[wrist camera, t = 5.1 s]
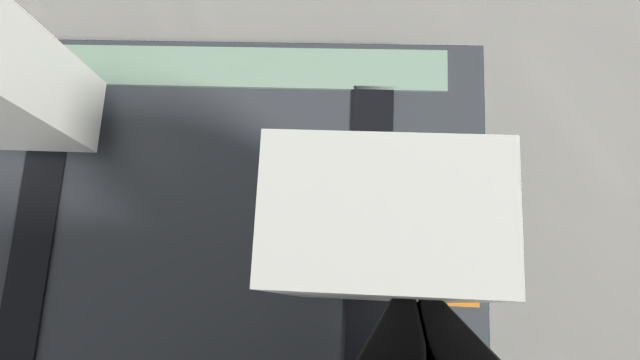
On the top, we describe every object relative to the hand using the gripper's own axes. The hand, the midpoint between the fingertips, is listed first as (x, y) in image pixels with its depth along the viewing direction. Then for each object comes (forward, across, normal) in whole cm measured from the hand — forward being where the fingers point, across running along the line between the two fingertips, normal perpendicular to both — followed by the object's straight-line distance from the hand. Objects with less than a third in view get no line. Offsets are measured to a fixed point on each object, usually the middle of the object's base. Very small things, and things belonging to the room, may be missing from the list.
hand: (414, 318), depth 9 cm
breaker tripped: (+4, -1, -2) cm, 5 cm away
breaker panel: (+6, -5, -5) cm, 9 cm away
